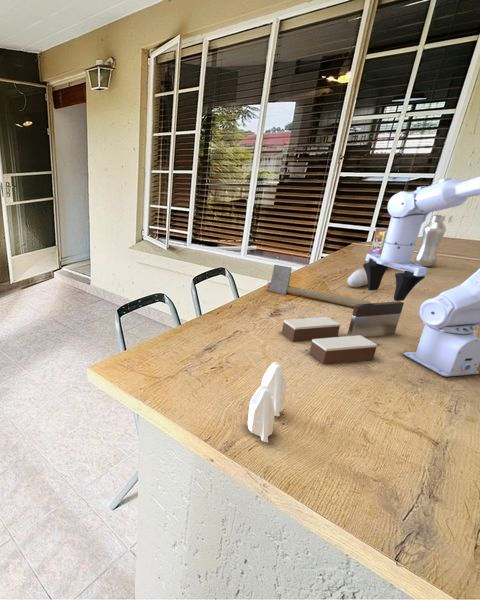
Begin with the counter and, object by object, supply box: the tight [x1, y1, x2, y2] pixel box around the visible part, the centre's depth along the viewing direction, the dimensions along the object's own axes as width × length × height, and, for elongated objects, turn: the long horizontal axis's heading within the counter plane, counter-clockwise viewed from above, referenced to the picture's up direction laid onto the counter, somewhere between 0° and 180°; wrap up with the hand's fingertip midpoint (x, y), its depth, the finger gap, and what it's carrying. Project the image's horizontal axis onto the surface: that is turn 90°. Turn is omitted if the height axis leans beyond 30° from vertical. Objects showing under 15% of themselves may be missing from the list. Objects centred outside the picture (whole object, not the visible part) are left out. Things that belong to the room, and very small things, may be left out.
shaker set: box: [246, 361, 287, 443], centre depth 62 cm, size 12×4×11 cm, turn 139°
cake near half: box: [309, 335, 378, 365], centre depth 82 cm, size 5×12×4 cm, turn 94°
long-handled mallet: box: [266, 264, 371, 308], centre depth 114 cm, size 10×2×30 cm
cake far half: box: [281, 316, 341, 342], centre depth 92 cm, size 5×12×4 cm, turn 94°
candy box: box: [367, 227, 389, 271], centre depth 141 cm, size 9×4×15 cm, turn 160°
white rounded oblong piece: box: [346, 268, 368, 288], centre depth 125 cm, size 6×6×15 cm
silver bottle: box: [413, 214, 447, 267], centre depth 138 cm, size 6×7×20 cm
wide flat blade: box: [346, 301, 405, 338], centre depth 90 cm, size 1×12×9 cm, turn 94°
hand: (385, 294), depth 90 cm, fingers open, 7 cm apart
